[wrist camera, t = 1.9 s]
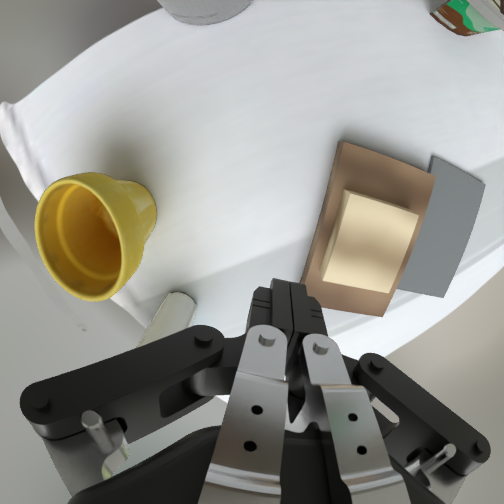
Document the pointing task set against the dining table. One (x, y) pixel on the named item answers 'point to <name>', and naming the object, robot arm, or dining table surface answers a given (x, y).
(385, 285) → the cream flat block
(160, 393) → the robot arm
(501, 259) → the dining table surface
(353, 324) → the dining table surface
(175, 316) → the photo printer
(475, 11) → the food container
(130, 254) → the plant pot
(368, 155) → the brown wooden block
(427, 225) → the mat
